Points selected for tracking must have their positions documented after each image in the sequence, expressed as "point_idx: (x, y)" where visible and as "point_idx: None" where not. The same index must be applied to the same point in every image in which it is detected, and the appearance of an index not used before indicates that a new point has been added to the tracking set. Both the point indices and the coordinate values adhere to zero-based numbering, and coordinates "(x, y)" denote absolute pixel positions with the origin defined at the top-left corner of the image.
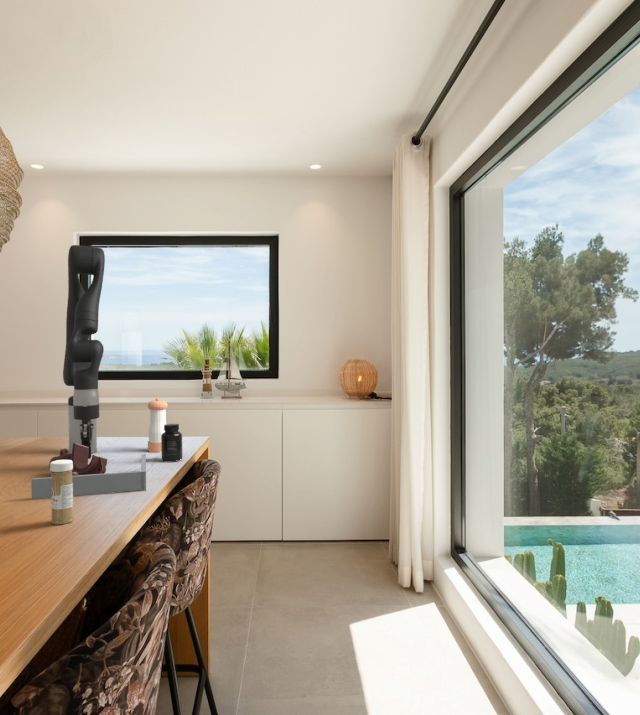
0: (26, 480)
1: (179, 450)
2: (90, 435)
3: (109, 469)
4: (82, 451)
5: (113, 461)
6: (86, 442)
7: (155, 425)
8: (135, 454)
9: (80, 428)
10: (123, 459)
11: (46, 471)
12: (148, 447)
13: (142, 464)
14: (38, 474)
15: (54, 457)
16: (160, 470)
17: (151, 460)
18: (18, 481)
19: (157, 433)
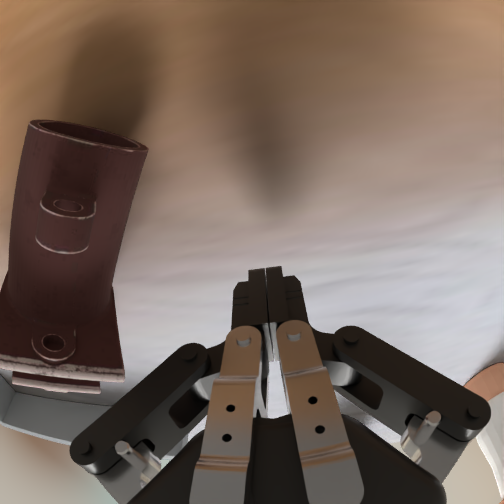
0: (13, 37)
1: None
2: (372, 408)
3: (218, 338)
4: (60, 347)
5: (394, 320)
6: (188, 390)
7: (496, 453)
8: (475, 349)
9: (195, 491)
10: (415, 342)
11: (214, 25)
12: (492, 378)
13: (49, 437)
14: (131, 14)
15: (38, 149)
16: (189, 433)
17: (349, 409)
18: (4, 15)
19: (482, 436)
